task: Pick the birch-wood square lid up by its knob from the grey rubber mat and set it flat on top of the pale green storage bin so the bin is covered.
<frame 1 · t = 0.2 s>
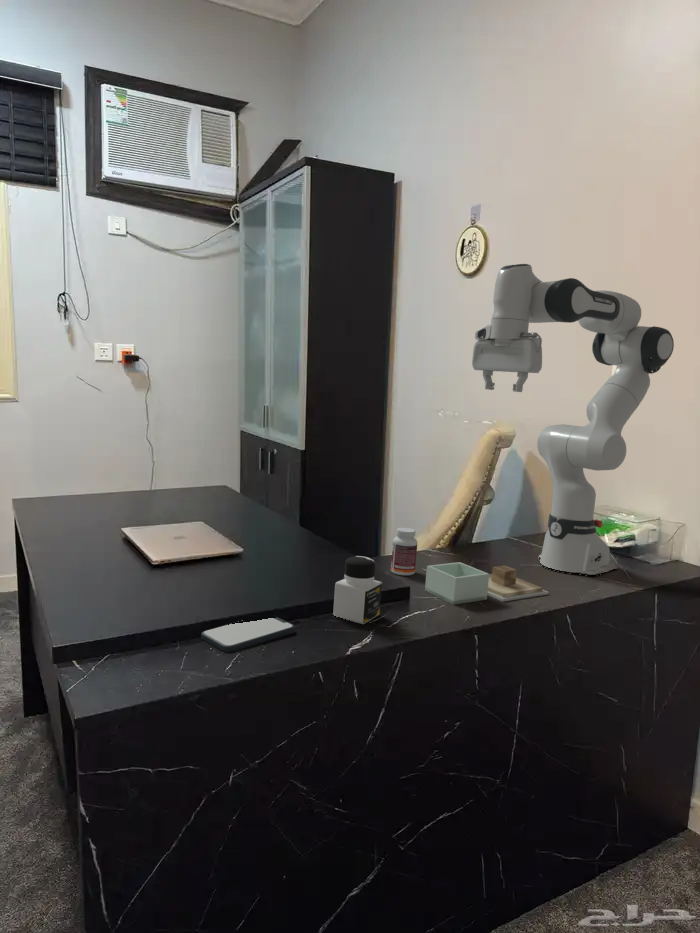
hand: (503, 390, 164), 47 cm above the table, tool pointing down, fingers open, 8 cm apart
pale green storage bin: (455, 595, 155), on the table
mat: (502, 588, 163), on the table
phone case: (248, 637, 124), on the table
medicine bottle: (356, 616, 137), on the table
pill bottle: (402, 573, 171), on the table
lid: (503, 585, 163), point 1 cm above the table, touching mat
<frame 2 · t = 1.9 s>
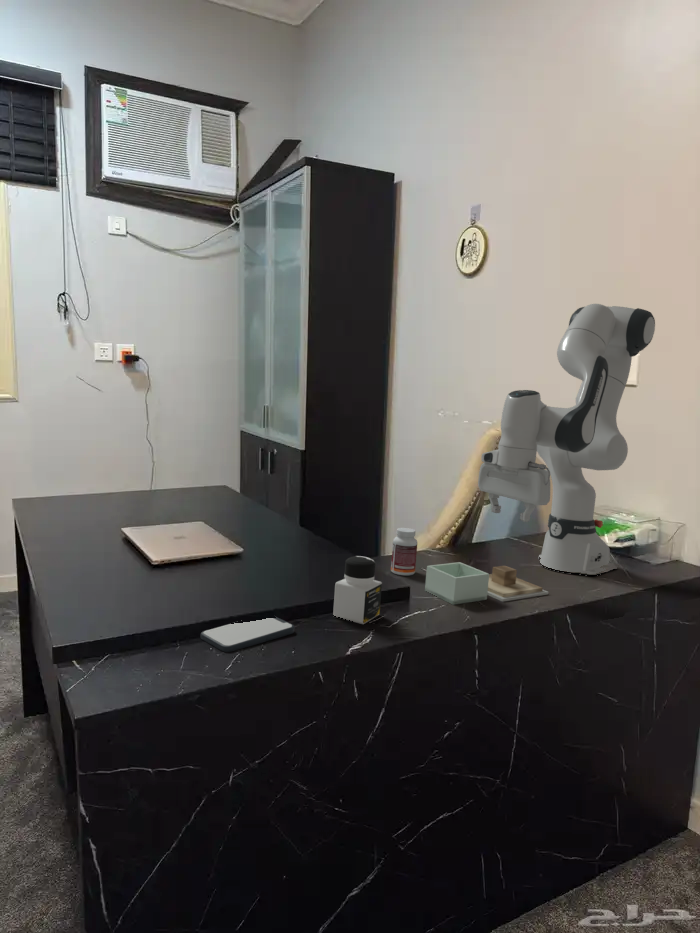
hand: (509, 516, 161), 18 cm above the table, tool pointing down, fingers open, 8 cm apart
nothing on the table moved.
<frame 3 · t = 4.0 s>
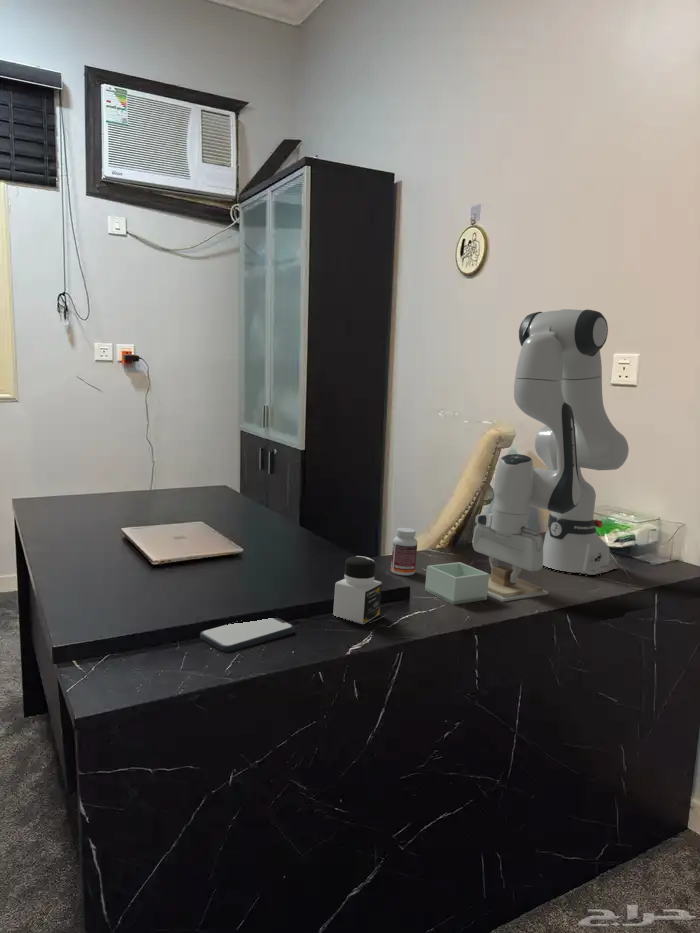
hand: (503, 578, 163), 2 cm above the table, tool pointing down, fingers closed on lid, 4 cm apart
lid: (503, 585, 163), point 1 cm above the table, touching gripper, mat
everything else where it was.
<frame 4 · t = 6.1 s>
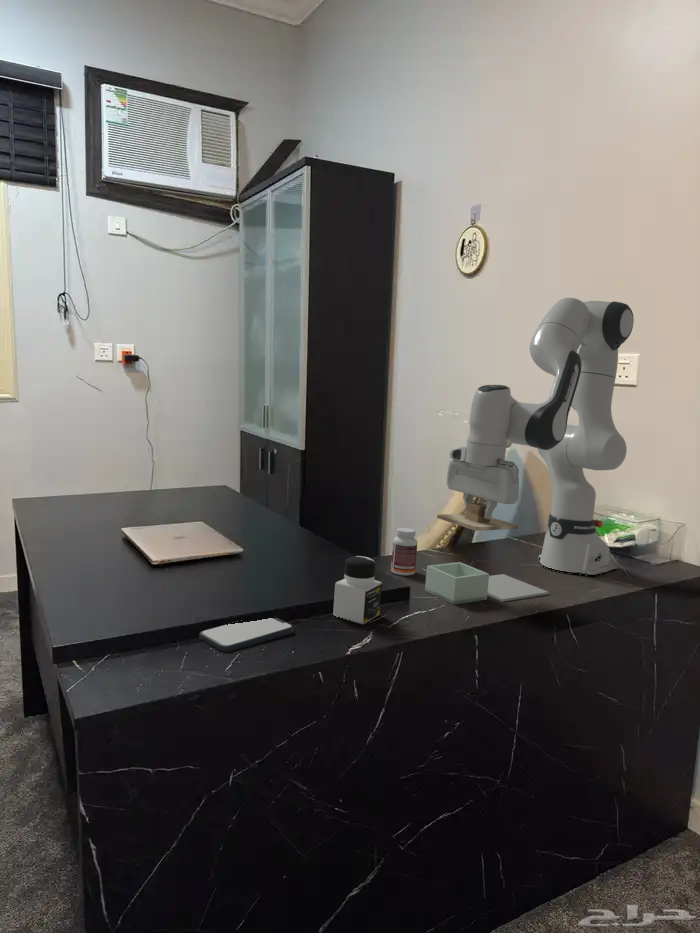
hand: (477, 516, 155), 18 cm above the table, tool pointing down, fingers closed on lid, 4 cm apart
lid: (477, 523, 155), point 17 cm above the table, touching gripper
everything else where it was.
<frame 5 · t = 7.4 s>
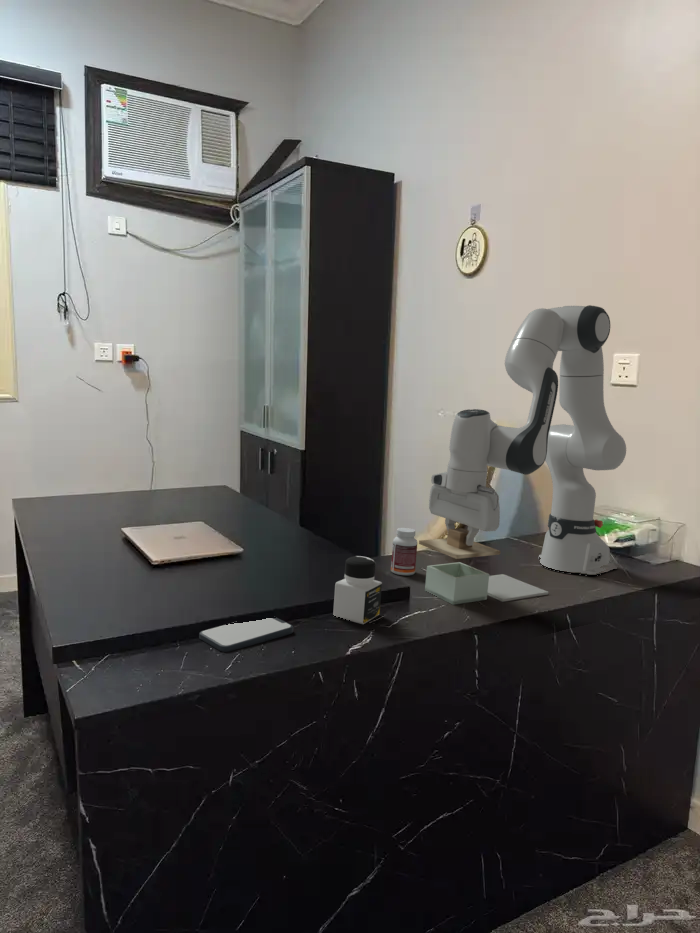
hand: (460, 541, 154), 13 cm above the table, tool pointing down, fingers closed on lid, 4 cm apart
lid: (459, 549, 154), point 11 cm above the table, touching gripper
everything else where it was.
when the fingers open (9 cm above the table, at t = 8.3 s): lid drops 1 cm, resting on pale green storage bin.
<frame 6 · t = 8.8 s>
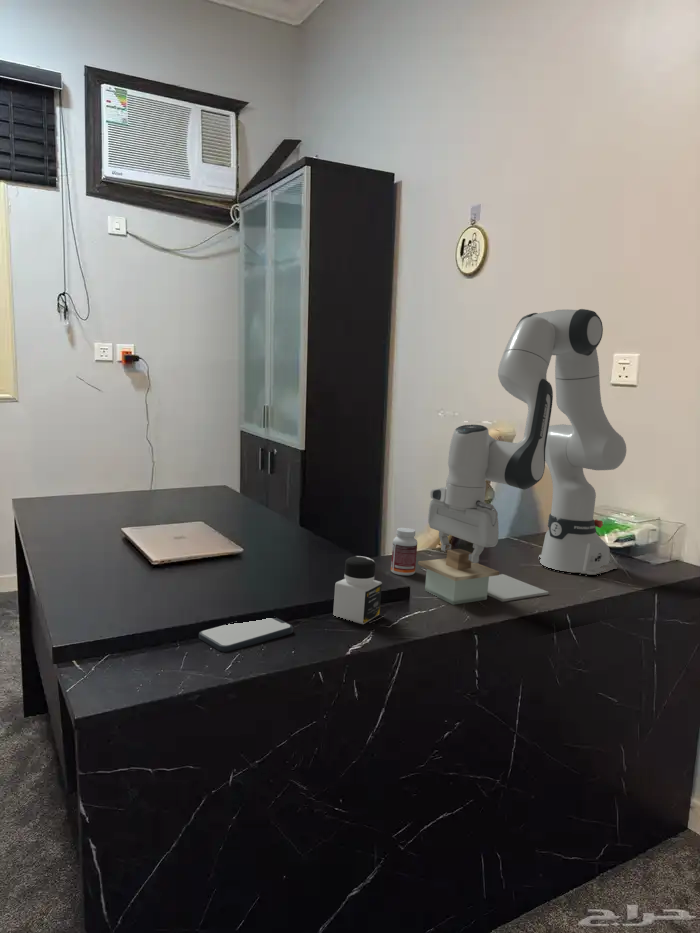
hand: (459, 556, 154), 9 cm above the table, tool pointing down, fingers open, 8 cm apart
lid: (457, 569, 155), point 6 cm above the table, touching pale green storage bin
everything else where it was.
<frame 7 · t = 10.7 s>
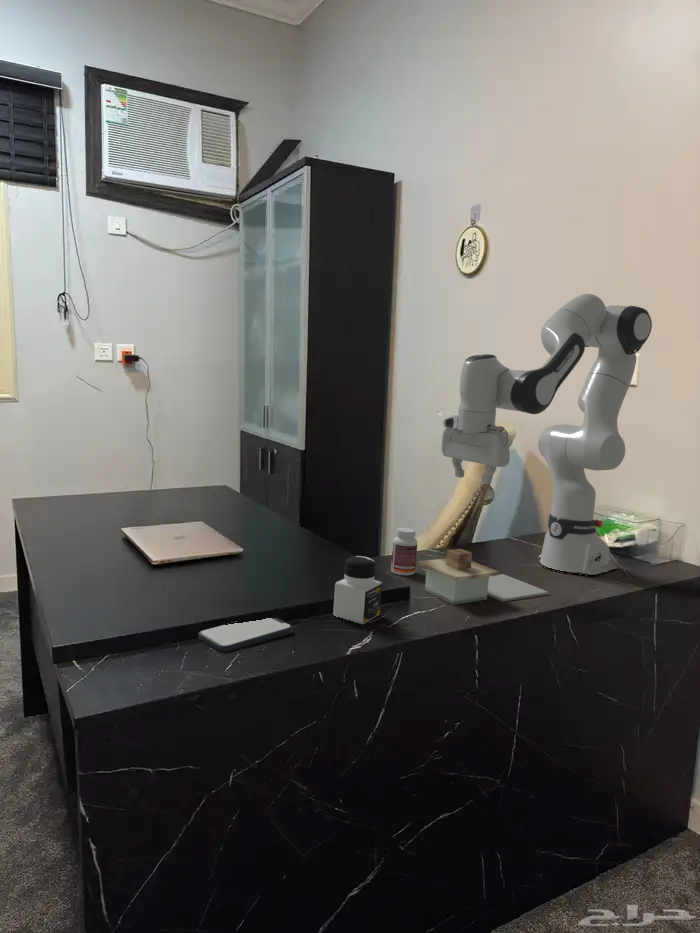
hand: (472, 480, 164), 25 cm above the table, tool pointing down, fingers open, 8 cm apart
nothing on the table moved.
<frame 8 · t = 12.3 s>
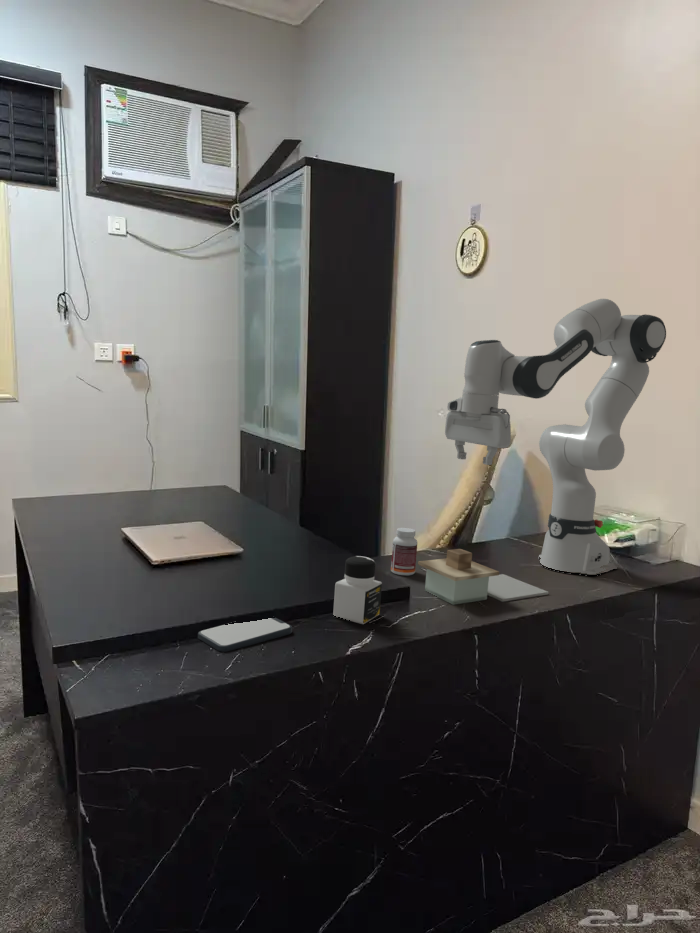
hand: (474, 461, 168), 29 cm above the table, tool pointing down, fingers open, 8 cm apart
nothing on the table moved.
at the end: lid 0.0 cm off-centre on the pale green storage bin, point 6.0 cm above the pale green storage bin's base; lid tilted 0°; lid touching pale green storage bin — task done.
